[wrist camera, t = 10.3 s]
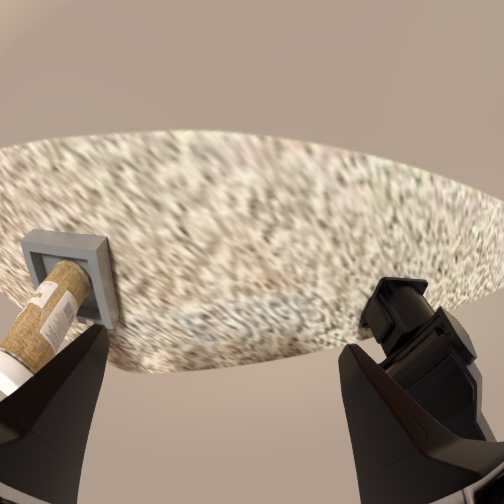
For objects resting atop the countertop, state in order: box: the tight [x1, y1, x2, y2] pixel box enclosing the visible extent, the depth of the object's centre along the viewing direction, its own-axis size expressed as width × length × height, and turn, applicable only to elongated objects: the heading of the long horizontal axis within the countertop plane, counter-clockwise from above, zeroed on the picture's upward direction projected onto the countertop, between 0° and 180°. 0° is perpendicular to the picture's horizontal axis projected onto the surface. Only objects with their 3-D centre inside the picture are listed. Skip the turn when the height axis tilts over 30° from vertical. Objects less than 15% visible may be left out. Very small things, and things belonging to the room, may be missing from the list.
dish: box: [20, 229, 120, 330], centre depth 22 cm, size 9×9×2 cm
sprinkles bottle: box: [0, 260, 91, 396], centre depth 16 cm, size 5×5×13 cm
